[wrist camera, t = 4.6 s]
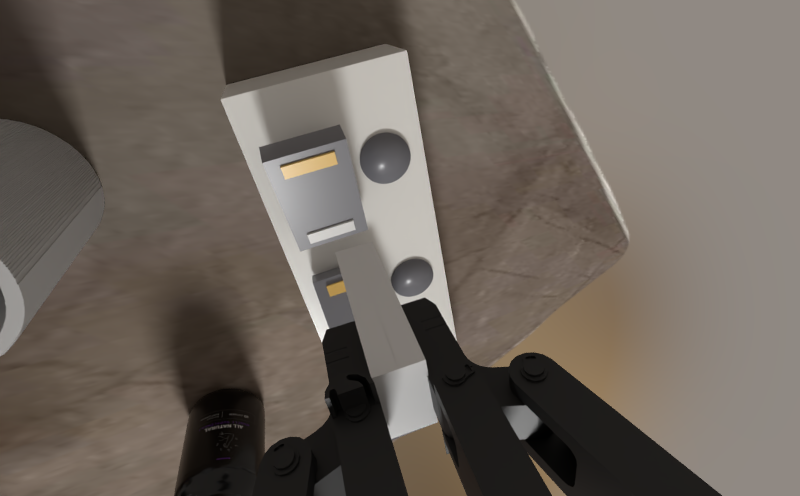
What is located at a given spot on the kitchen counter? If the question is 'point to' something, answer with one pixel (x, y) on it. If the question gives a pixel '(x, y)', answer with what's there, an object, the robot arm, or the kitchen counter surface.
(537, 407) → the robot arm
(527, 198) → the kitchen counter surface
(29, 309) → the cup
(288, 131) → the power strip
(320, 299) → the rocker
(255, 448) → the supplement bottle
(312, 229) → the plate
